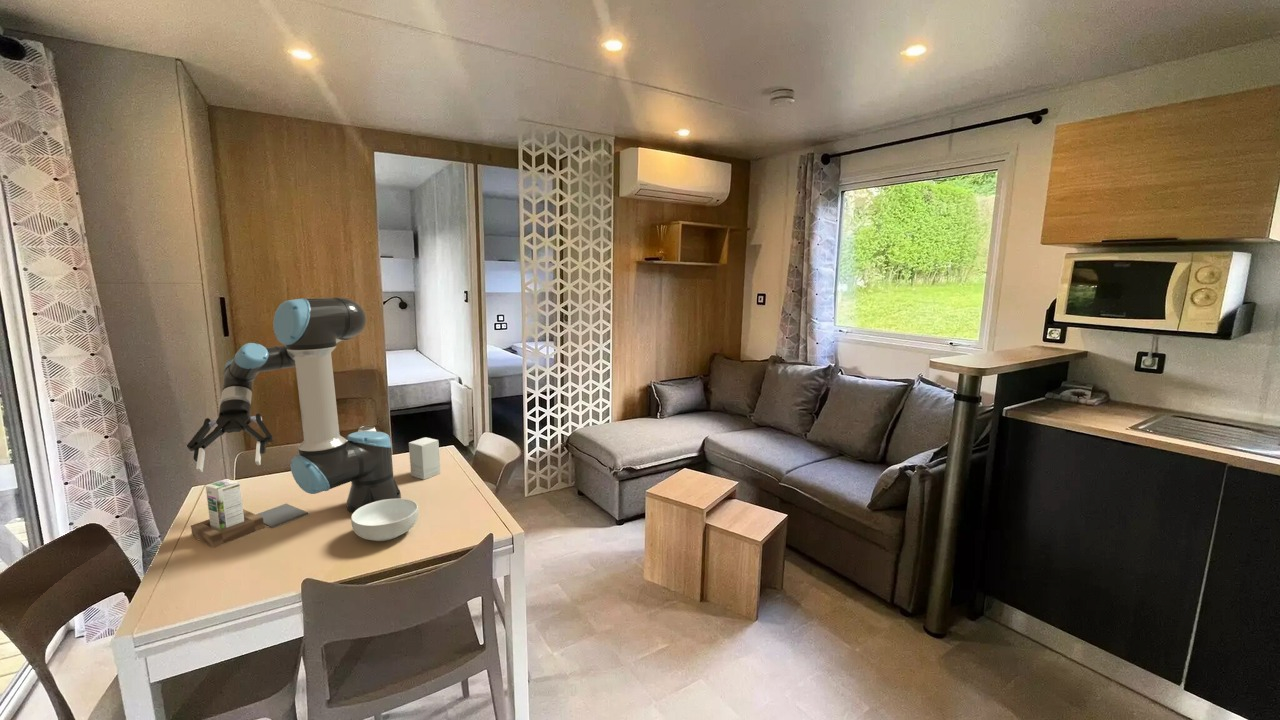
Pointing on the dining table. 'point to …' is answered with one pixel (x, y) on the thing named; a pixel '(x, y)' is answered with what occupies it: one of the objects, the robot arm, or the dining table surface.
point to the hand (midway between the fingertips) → (229, 467)
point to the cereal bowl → (384, 519)
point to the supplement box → (424, 458)
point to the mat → (281, 515)
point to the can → (366, 428)
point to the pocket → (227, 530)
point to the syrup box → (224, 504)
